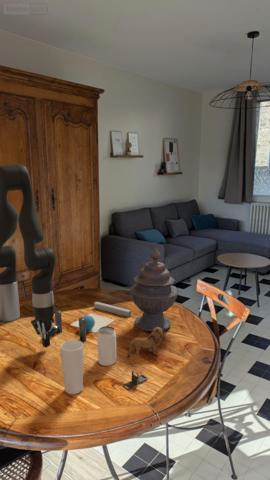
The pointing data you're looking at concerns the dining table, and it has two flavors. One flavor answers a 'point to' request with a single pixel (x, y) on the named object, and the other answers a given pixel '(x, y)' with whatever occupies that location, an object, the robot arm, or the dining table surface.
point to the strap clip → (135, 380)
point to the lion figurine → (147, 342)
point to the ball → (89, 322)
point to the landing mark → (96, 322)
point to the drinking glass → (72, 365)
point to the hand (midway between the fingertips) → (46, 346)
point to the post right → (82, 329)
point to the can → (106, 345)
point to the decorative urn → (153, 294)
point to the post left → (58, 321)
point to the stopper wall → (112, 309)
